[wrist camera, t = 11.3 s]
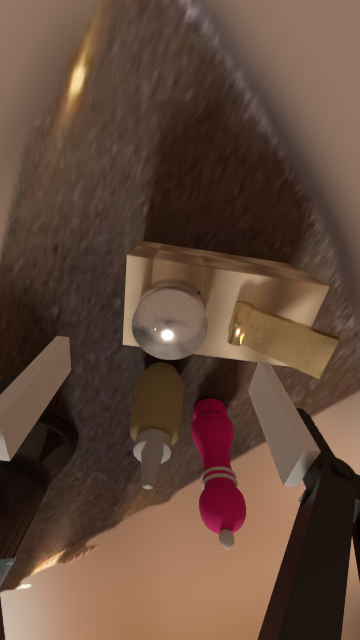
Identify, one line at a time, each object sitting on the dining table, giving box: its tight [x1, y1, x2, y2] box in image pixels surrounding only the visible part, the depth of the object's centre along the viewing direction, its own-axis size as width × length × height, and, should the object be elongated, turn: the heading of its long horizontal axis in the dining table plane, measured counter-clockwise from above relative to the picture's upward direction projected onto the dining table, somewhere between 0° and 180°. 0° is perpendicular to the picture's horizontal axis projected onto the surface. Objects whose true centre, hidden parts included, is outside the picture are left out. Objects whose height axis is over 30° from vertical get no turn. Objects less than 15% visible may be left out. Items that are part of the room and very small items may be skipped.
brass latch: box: [227, 301, 340, 379], centre depth 22 cm, size 9×4×2 cm
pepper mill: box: [191, 398, 246, 549], centre depth 35 cm, size 7×7×20 cm
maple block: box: [123, 241, 330, 367], centre depth 29 cm, size 20×10×10 cm, turn 82°
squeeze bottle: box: [130, 362, 185, 489], centre depth 33 cm, size 8×8×18 cm
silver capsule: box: [132, 279, 208, 360], centre depth 26 cm, size 7×7×12 cm
